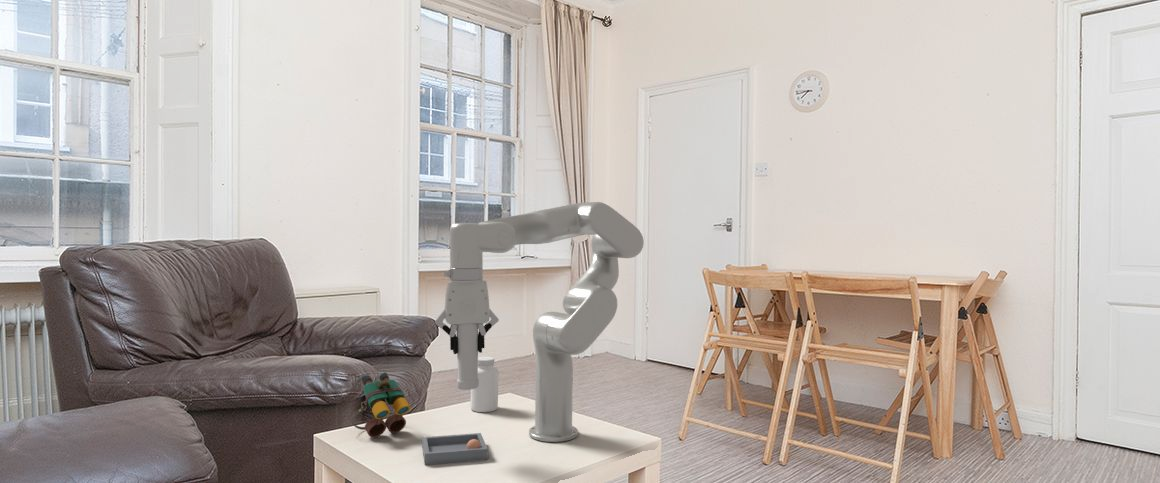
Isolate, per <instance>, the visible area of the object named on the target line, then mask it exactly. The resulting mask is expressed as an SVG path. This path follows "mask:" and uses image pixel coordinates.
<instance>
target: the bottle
mask: <svg viewBox="0 0 1160 483" xmlns="http://www.w3.org/2000/svg"><path fill="white" fill-rule="evenodd" d="M478 332H479V329H478V324H465V325H458V326H457V329H456V337H457V354H456V355H457V356H456V358H457V360H456V361H457V379H456V385H457V389H459V390H463V391H465V390H467V391H469V390H470V391H471V389H475V388H477V387H478V385H479V378H478V357H479V352H478Z"/></svg>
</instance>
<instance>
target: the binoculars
mask: <svg viewBox="0 0 1160 483" xmlns="http://www.w3.org/2000/svg"><path fill="white" fill-rule="evenodd" d="M378 378H379V381H374V382H373V380H372V378H371V376H370V375H368V374H365V375H364V374H363V375H362V376H361V378H360V380H361V381H362V383H363V387H362V390H363V393H364V396H365V401H363V402H361V403H360V406H361V407H360V408H359V409H358V410H356V411H355V412H354V413H353V414H351V415H352V416H351V417H350V418H351V419H350V420H351V423H352V425H353V426H354V428H356V429H357V430H362V431H363V430H364V431H366V433H367V435H368V436H369V437H371V438H376V437H377V438H378V437H379V436H381V435H383V433H384V432H386V429H387V431H388V432H389V433H391V434H395V433H396V434H397V433H399V432H401V431H402V430H404V428H405V427H406V424H407V420H406V419H405V417H404V416H403V415H404V414H407V413H408V412H409V411H410V410H411V405H410V404H409V403H408V400H407V399H406V398H405V397H406V396H405V394H404V392H403V390H402V389H401V388H400V386H399V385H398V383H397V382H396V381H395V380H394V379H390V378H389V375H388V374H387V372H382V373H381V374H380V375H379V377H378ZM386 402H387V403H386ZM363 404H364V405H363ZM387 404H388V405H389V406H391V405H392V409H393V410H394V412H395V413H393V414H390V412H391V410H390V408H389V406H388V405H387ZM368 406H369V408H370V409H371V412H372V413H373V416H374V417H373V418H370V419H369V420H368V421H367V422H366V423H365V425H364V426H358V425H356V424H355V423H354V418H355V417H356V416H357V415H358V414H360V413H361V412H363V411H364V412H365V411H366V410H367V408H368ZM387 416H388V417H387ZM386 417H387V418H386ZM384 418H386V419H385V421H384Z"/></svg>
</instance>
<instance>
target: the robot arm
mask: <svg viewBox="0 0 1160 483" xmlns="http://www.w3.org/2000/svg"><path fill="white" fill-rule="evenodd" d="M585 235H587V236H588V235H589V236H592V237H591V241H590V242H591V244H590V246H591V254H592V255H591V256H592V258H591V263H590V265H589V267H588V268H587V269H586V271H585V272H584V273H583V274H582V276H580V277H579V279H577V281H576V282H575V283H574V284H573V285H572V286H571V287H570V288H569V289H568V291H567V292H566V293H565V295H564V296H563V300H562V307H563V310H564V312H565V313H564V312H558V311H548V312H544V313H543V314H541V315H539V316H538V317H537V319H536V320H535V322H534V324H533V328H532V339H533V345H534V351H535V352H534V353H535V402H534V403H535V411H534V413H535V414H534V415H535V416H534V418H535V419H534V423H535V424H534V425H533V426H532V427H530V428H529V430H528V435H529V436H530V438H532V439H534V440H537V441H540V442H547V443H558V442H559V443H560V442H567V441H570V440H574V439H575V438H577V437H578V435H579V430H578V428H577V427H575V426H573V388H574V387H573V379H574V378H573V377H574V376H573V375H574V365H573V364H574V363H573V358H572V357H573V356H577V355H580V354H582V353H584V352H585V351H587V350H588V349H589V348H590V347H591V345H592V344H593V343H595V341H596V340H597V339H598V338H599V337H600V335H602V333H603V332H604V330H605V329H606V328H607V327H608V326H609V324H610V323H611V322H612V321H613V320H614V318H615V315H616V313H617V310H618V299H617V295H616V293H615V292H614V291H613V289H614V288H615V286H616V284H617V283H618V281H619V280H618V279H619V276H620V275H619V273H620V271H619V259H632V258H635V257H637V256H638V255H640V253H642V250H643V248H644V237H643V234H642V232H641V231H640V229H639V228H638V227H636V226H635V224H633V223H632V222H631V221H629V220H628V219H627V218H626V217H625V216H623V215H621V214H620V212H618V211H617V210H615V209H614V208H613V207H611V206H610V205H608V204H607V203H604V202H600V201H592V202H589V201H586V202H576V203H573V204H566V205H561V206H556V207H550V208H546V209H542V210H535V211H530V212H526V213H522V214H517V215H510V216H504V217H500V218H499V217H498V218H494V219H489V220H484V221H483V220H482V221H480V222H478V223H477V222H457V223H456V222H455V223H452V225H450V228H449V259H450V260H449V263H450V266H449V269H448V270H444V271H443V277H444V278H446V277H447V278H448V279H450V280H449V281H447V284H446V289H445V299H444V309H443V311H441V313H440V314H439V316H438V317H437V318H436V319H435V321H434V323H435V325H436V326H437V327H439V328H440V329H441V330H442V331H444V332H445V333H446V334H447V335H448V336H449V337H450V338H449V341H450V344H449V348H450V351H452V352H453V355H457V331H456V329H457V326H458V325H465V324H478V353H480V354H481V353H483V349H485V348H486V347H485V346H486V345H485V336H486V334H487V333H488V332H489V330H491V328H492V327H494V326H495V325H496V324H497V323H498V322H499V321H500V320H499V318H498V317H497V315H496V314H495V313H494V312H493V310H492V309H490V298H489V297H490V296H489V290H488V283H487V281H486V280H484V279H483V278H484V277H483V276H484V274H483V273H484V272H483V268H484V266H483V264H484V263H483V262H484V261H483V257H484V256H483V255H484V254H483V253H491V254H492V253H493V254H504V253H507V252H509V251H511V250H512V249H513V248H514V247H515V246H517V245H542V244H550V243H553V242H557V241H561V240H565V239H566V240H567V239H571V238H576V237H581V236H585ZM444 320H445V322H446V323H447V324H448V325H447V324H446V323H444ZM484 324H485V325H484ZM449 325H450V327H449Z"/></svg>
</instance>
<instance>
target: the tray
mask: <svg viewBox="0 0 1160 483" xmlns="http://www.w3.org/2000/svg"><path fill="white" fill-rule="evenodd" d="M472 439H476V440H478V441H479V442H480V444H481V448H474V449H467V443H468V442H469V441H470V440H472ZM421 441H422V442H421V444H422V445H421V447H422V453H423V455H422V456H423V462H424V463H423V464H424V466H429V465H430V466H431V465H439V464H440V465H441V464H451V463H452V464H453V463H463V462H464V463H466V462H473V461H474V462H477V461H486V460H487V461H488V450H489V449H488V447H487V445H486V442H485V439H484V437H483V435H482V433H481V432H476V433H461V434H448V435H446V434H445V435H437V436H434V435H433V436H423V437H422V438H421Z"/></svg>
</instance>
